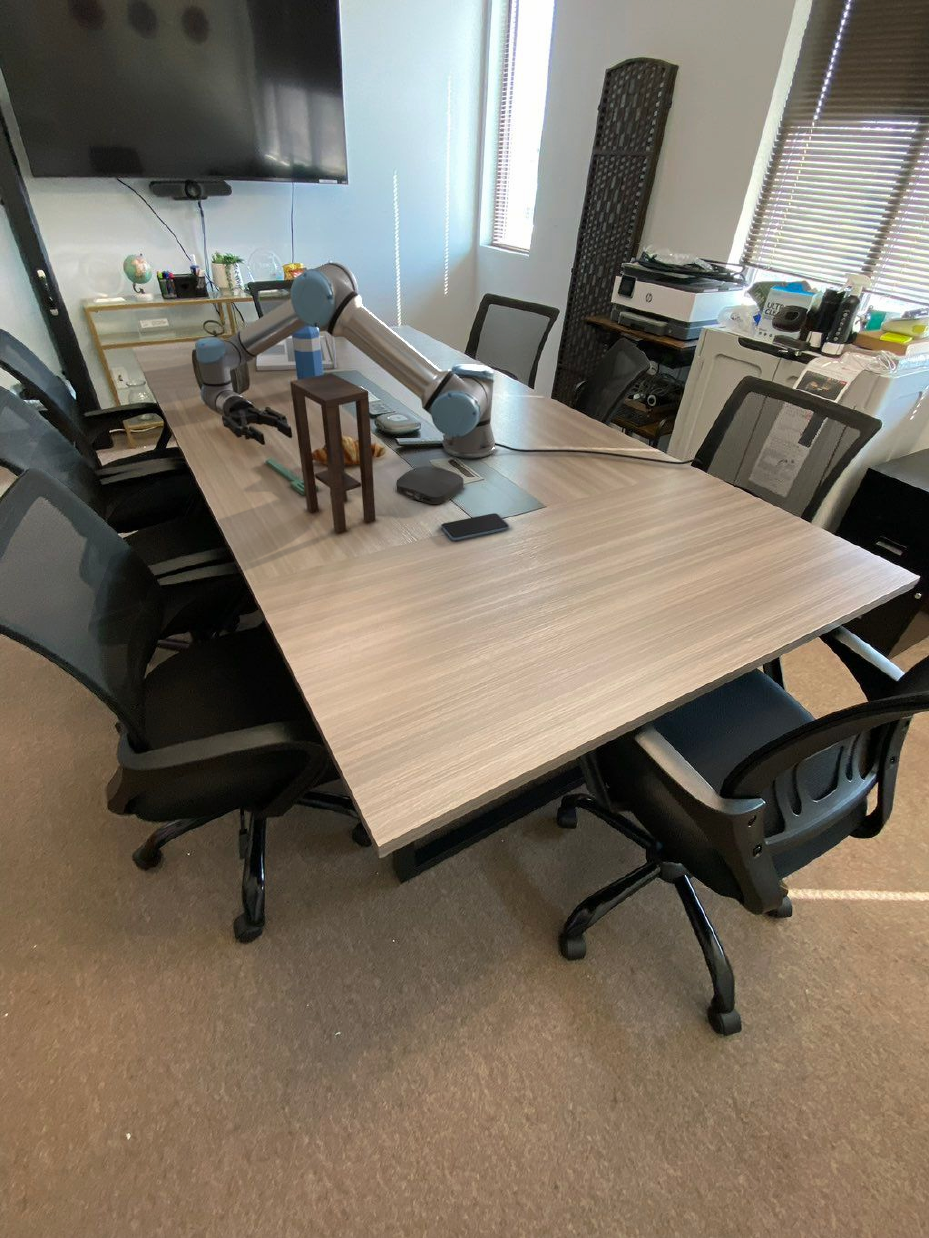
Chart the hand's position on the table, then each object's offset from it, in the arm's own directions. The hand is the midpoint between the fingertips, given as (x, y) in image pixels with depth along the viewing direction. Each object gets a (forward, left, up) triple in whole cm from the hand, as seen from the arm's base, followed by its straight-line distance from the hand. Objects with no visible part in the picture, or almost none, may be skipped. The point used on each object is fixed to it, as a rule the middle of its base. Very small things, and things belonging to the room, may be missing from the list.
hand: (276, 436), depth 152 cm
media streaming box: (-40, 0, -10) cm, 41 cm away
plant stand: (-22, +18, -10) cm, 30 cm away
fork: (-3, +2, -10) cm, 10 cm away
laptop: (+35, -102, -10) cm, 108 cm away
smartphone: (-54, +17, -10) cm, 57 cm away
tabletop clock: (+35, -44, -10) cm, 57 cm away
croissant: (-15, -11, -10) cm, 21 cm away
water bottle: (+14, -63, -10) cm, 65 cm away
